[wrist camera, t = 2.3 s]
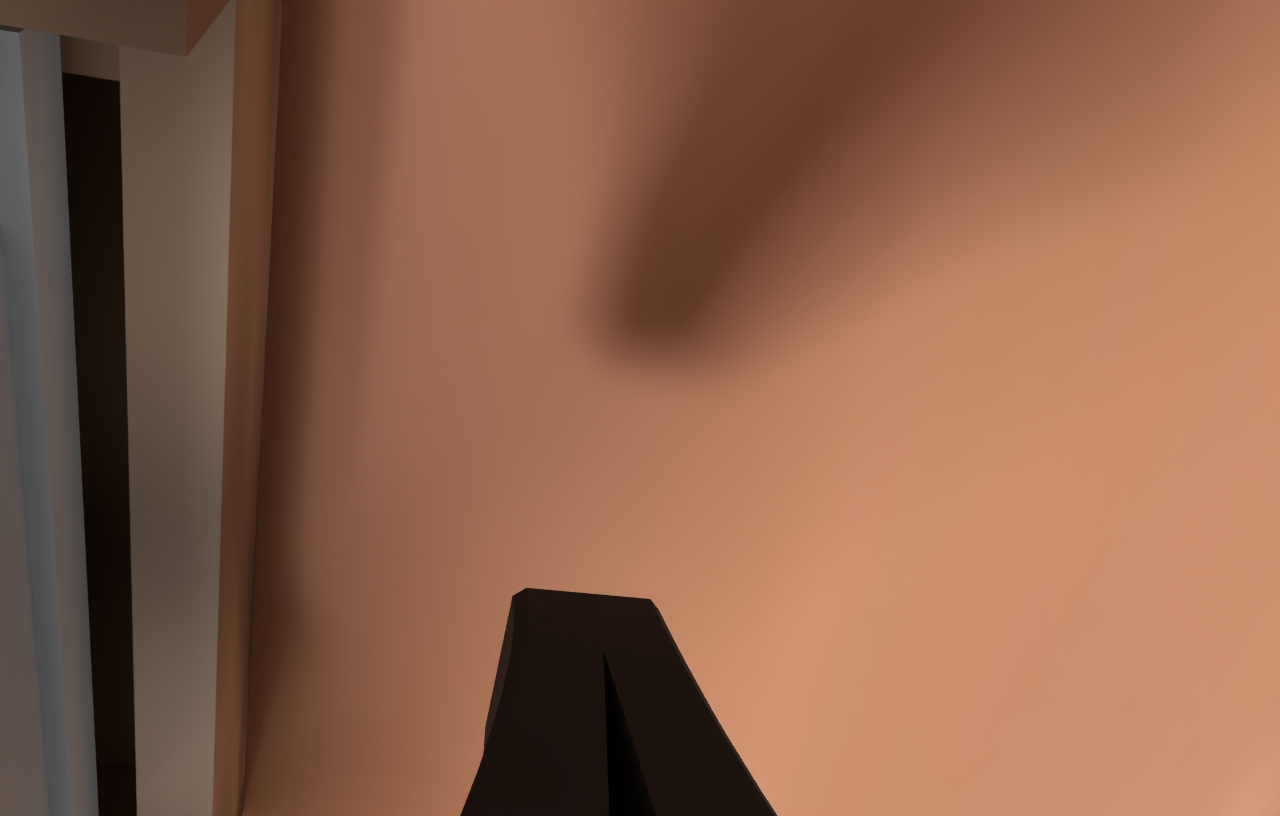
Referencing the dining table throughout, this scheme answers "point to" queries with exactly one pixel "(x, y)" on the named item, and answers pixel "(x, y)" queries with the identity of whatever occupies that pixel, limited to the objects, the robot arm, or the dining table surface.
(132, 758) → the case
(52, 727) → the cover plate
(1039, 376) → the dining table surface
